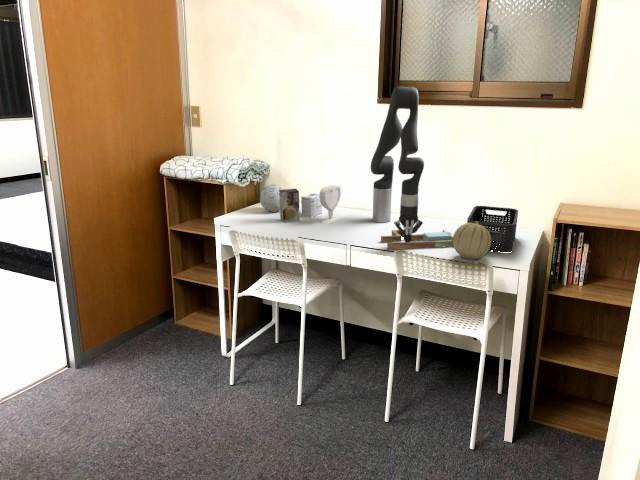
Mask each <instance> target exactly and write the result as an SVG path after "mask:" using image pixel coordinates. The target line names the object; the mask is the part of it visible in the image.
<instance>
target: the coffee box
mask: <svg viewBox="0 0 640 480" xmlns="http://www.w3.org/2000/svg"><path fill="white" fill-rule="evenodd" d="M299 192H300V190H298V189H297V188H285V189H284V188H283V190H279V196H280V211H279V215H280V217H279V218H280V221H281V222H282V223H283V222H284V223H291V222H293V223H294V222H300V220H301V219H300V217H301V215H300V214H301V213H300V193H299Z"/></svg>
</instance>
